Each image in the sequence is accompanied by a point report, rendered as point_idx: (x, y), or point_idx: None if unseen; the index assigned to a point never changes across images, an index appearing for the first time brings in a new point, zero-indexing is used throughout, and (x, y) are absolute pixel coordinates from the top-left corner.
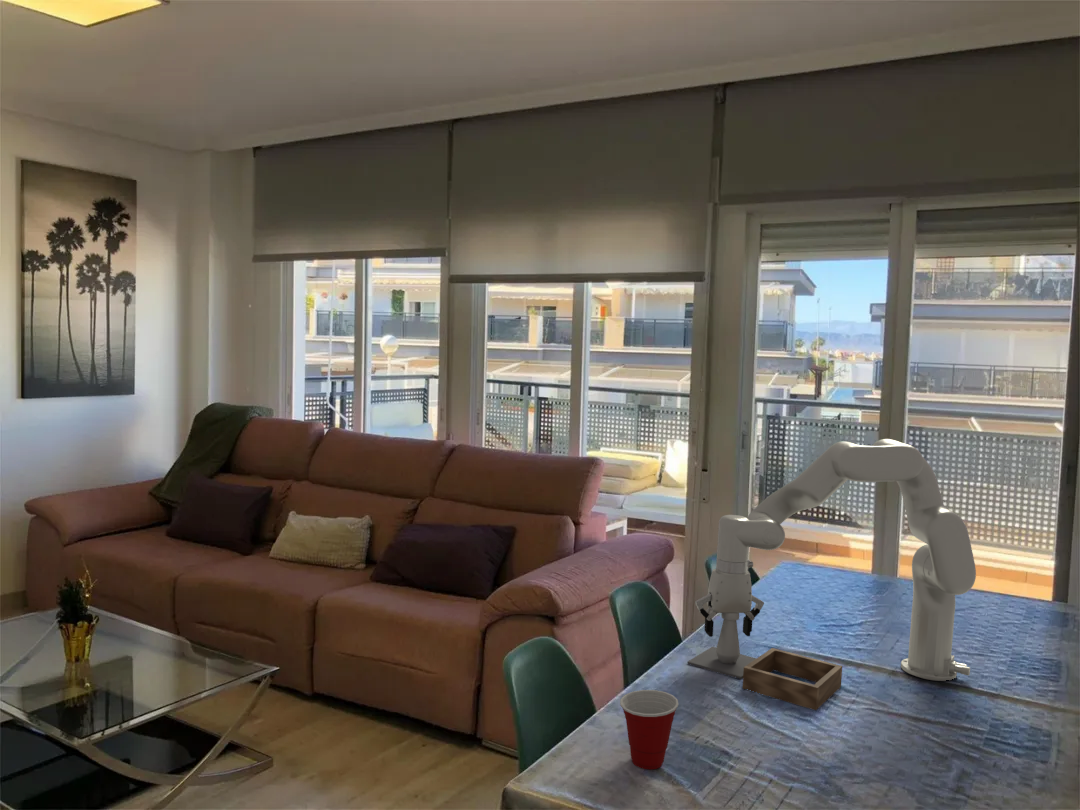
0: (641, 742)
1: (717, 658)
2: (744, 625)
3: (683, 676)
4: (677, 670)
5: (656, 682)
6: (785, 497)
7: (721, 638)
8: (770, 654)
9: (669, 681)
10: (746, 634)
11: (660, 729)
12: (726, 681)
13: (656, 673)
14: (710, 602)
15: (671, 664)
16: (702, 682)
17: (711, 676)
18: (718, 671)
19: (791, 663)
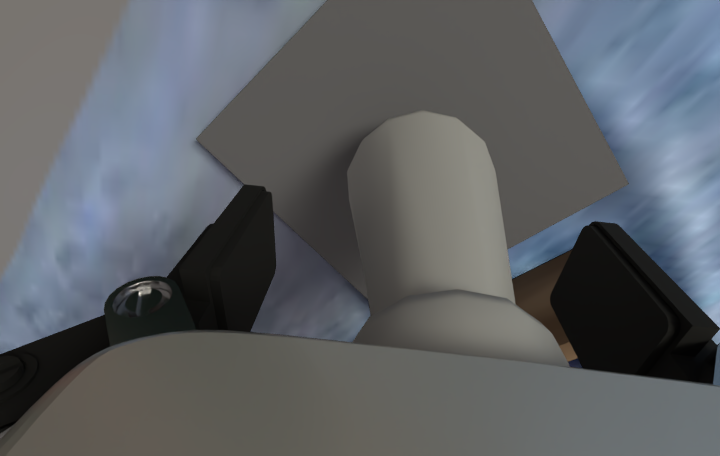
0: None
1: (378, 120)
2: (607, 294)
3: (164, 254)
4: (144, 198)
5: (60, 281)
6: None
7: (358, 242)
8: (571, 354)
9: (108, 281)
10: (555, 296)
11: None
12: (320, 311)
13: (52, 213)
14: (111, 403)
15: (118, 128)
16: None
17: (278, 270)
18: (319, 251)
19: None
